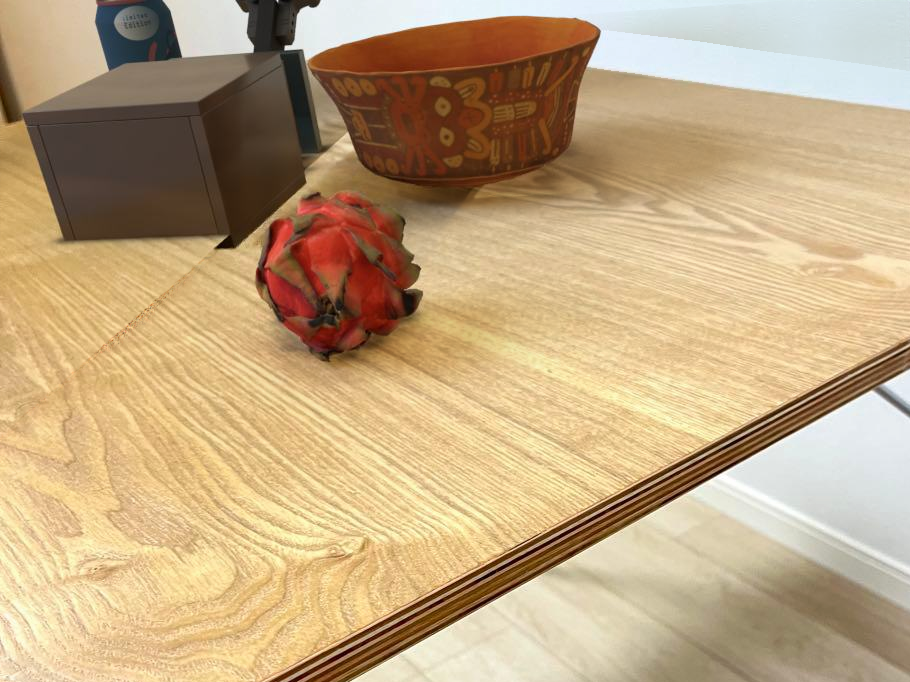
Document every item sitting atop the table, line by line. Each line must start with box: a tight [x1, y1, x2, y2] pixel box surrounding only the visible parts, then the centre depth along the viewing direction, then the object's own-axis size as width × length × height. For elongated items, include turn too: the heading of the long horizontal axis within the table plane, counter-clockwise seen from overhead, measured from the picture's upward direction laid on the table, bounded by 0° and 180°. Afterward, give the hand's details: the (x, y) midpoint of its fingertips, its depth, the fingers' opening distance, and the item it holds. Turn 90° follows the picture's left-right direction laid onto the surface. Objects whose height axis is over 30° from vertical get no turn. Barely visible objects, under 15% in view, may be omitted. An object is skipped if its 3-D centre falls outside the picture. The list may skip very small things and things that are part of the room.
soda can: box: [94, 0, 183, 71], centre depth 109 cm, size 7×7×12 cm
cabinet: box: [21, 53, 308, 250], centre depth 84 cm, size 15×13×10 cm
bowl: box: [306, 15, 602, 189], centre depth 85 cm, size 21×21×10 cm
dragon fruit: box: [254, 189, 424, 363], centre depth 62 cm, size 8×8×12 cm
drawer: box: [167, 48, 323, 156], centre depth 91 cm, size 18×12×8 cm, turn 170°
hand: (266, 76), depth 98 cm, fingers closed
